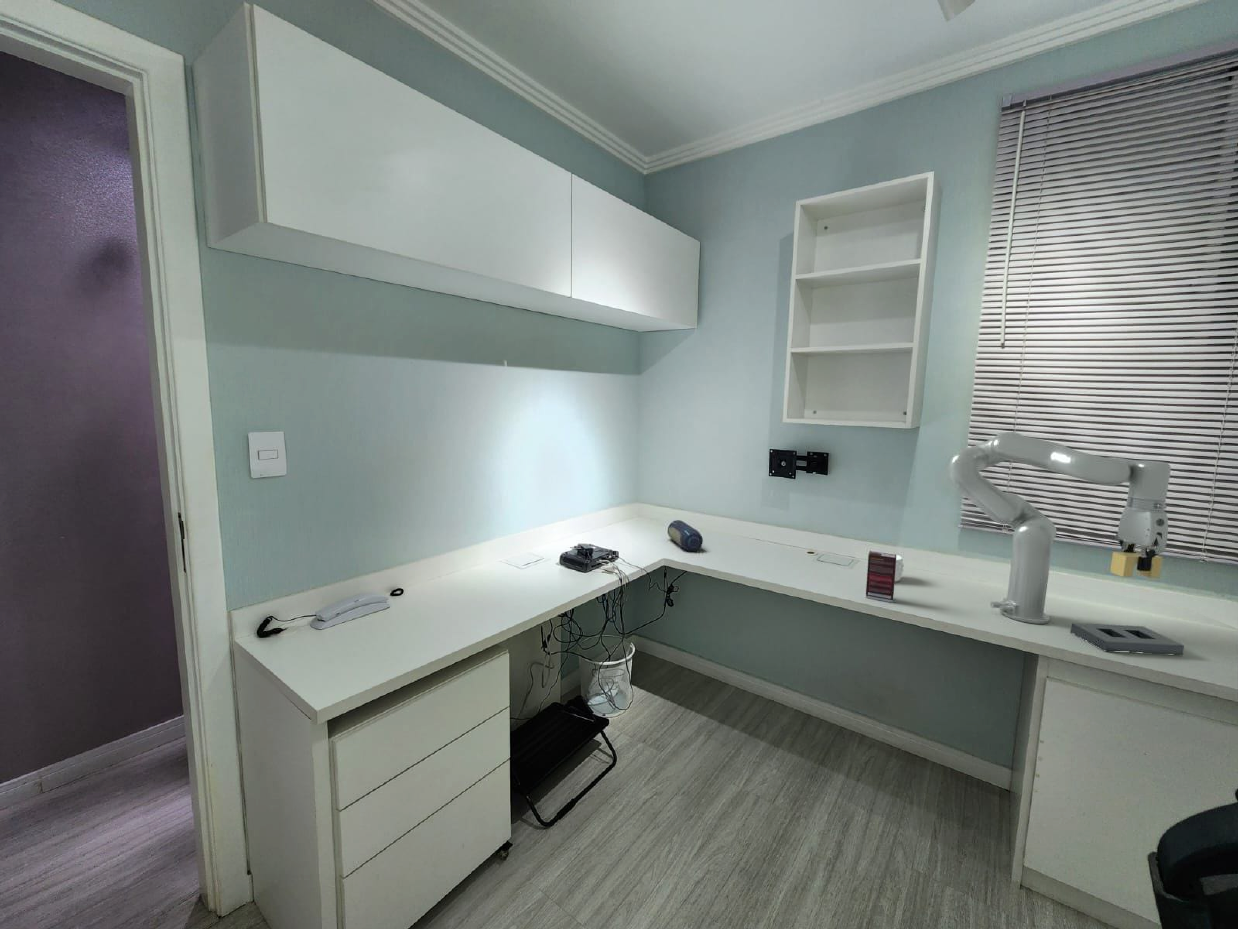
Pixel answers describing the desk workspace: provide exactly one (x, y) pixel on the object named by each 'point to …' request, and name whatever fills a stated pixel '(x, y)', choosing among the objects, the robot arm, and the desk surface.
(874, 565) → the supplement box
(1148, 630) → the grey slotted board
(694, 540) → the portable speaker
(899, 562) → the mug
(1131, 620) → the desk surface
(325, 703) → the desk surface
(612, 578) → the desk surface
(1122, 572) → the yellow u-shaped block
